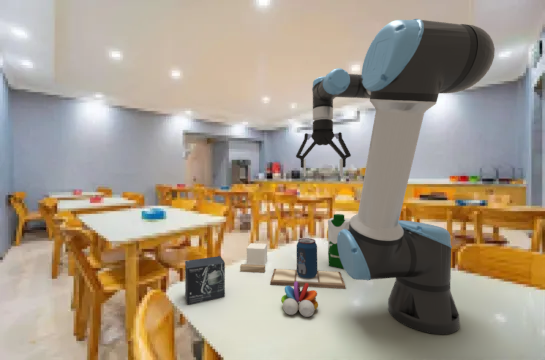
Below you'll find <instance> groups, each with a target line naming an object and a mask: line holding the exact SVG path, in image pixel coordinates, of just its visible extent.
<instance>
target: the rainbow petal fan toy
mask: <svg viewBox="0 0 545 360" xmlns="http://www.w3.org/2000/svg"><path fill="white" fill-rule="evenodd" d="M309 288H310V287H309V284H308V283H305V284H304V286H303V287H302V289H301V286H299V283H298V282H297V281H296V282H294V286H284V293H285V294H284V295H282V296H281V299H280V300H281V301H280V302H281V304H282V309H283V311H284V313H285V314H287V315H288V316H293V315H296V314H297V312H298V311H299V313H300V315H302V316H303V317H304V318H308V317H312V315H313V314H314V313H315V310H317V309H318V308H319V302H318V301H317V296H318V292H317V291H316V290H315V289H314V290H313V289H312V290H309Z"/></svg>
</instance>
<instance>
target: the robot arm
mask: <svg viewBox="0 0 545 360" xmlns="http://www.w3.org/2000/svg"><path fill="white" fill-rule="evenodd" d="M494 59H495V44H494V41H493V38H491V35H490V34H489V33H488V32H487V31H485V30H484V29H483V28H481V27H479V26H476V25H474V24H466V23H464V24H463V23H461V24H458V23H449V22H441V21H434V20H433V21H432V20H426V19H424V20H423V19H420V18H414V19H395V20H392V21H390V22H389V23H387V24H385V25H384V26H383V27H382V28H380V30H379V31H378V32H377V33H376V35H375V36H374V38H373V40H372V41H371V43H370V45H369V47H368V49H367V51H366V54H365V56H364V59H363V63H362V67H361V74H355V73H354V74H353V73H349V72H348V71H347V70H345V69H343V68H340V67H339V68H334V69H331V71H330V72H328V73H326V75H325V76H318V77H316V78H315V79H314V80H313V82H312V88H311V91H312V120H313V121H312V134H311V133H307V132H306V133H305V134H304V138H303V141H302V143H301V145H300V146H299V149H298V150H297V153H296V154H295V158H296V159H299V160H300V168H302V169H303V177H307V176H306V175H307V164H306V163H307V161H306V160H307V159H306V157H307V156H308V154H309V153H310V152H311V151H312V150H313V148H314V147H315V146H328V145H329V146H330V147H331V148H332V149H333V150H334V151H335V153H337V154H338V156H339V157H340V159H339V177H343V175H344V168H346V165H347V163H346V162H347V161H346V160H347V158H350V157H351V156H352V154H351V153H350V151H349V148H348V146H347V145H346V143H345V141H344V139H343V133H342V132H341V131H340V132H337V133H335V132H334V121H333V119H334V104H333V103H334V99H336V98H349V99H350V98H351V99H352V98H353V99H354V98H356V99H369V102H370V104H372V106H373V107H374V109H375V114H374V119H373V126H372V130H371V136H370V143H369V148H368V155H367V159H366V166H365V172H364V177H363V183H362V189H361V193H360V194H361V195H360V200H359V204H358V205H359V206H358V211H357V213H356V214H354V215H353V216H352V217H351V218H349V219H350V224H349V229H348V230H347V229H343V230H341V231H340V232H339V233H338V236H337V246H338V252H339V257H340V260H341V263H342V265H343V268H344V269H343V270H344V271H345V273H346V274H347V275H348V277H350V278H352V279H353V280H355V281H357V280H358V281H359V280H360V281H371V280H382V279H394V278H395V281H394V284H393V286H392V289H391V291H390V294H389V297H388V300H387V301H388V302H387V310H388V312H389V314H390V315H391V316H392V317H393V318H394V319H395V320H396V321H398V322H400V323H401V324H403V325H404V326H407V327H408V328H411V329H413V330H416V331H420V332H423V333H428V334H431V335H449V334H454V333H455V332H458V330H459V329H460V314H459V311H458V308H457V306H456V303H455V300H454V296H453V294H452V291H451V279H452V277H451V274H452V273H451V271H452V270H451V269H452V249H453V246H452V242H451V233H450V232H449V230H447V229H446V228H444V227H441V226H438V225H434V224H429V223H424V222H417V221H412V220H411V221H410V220H403V219H402V220H400V217H401V212H402V210H403V209H402V208H403V205H404V200H405V195H406V192H407V187H408V183H409V179H410V174H411V170H412V165H413V161H414V158H415V155H416V149H417V146H418V141H419V136H420V133H421V128H422V124H423V119H424V116H425V113H426V112H427V111H428V110H429V109H431V108H432V107H434V106H435V105H436V104H437V101H438V99H439V95H440V94H454V93H460V92H463V91H465V90H467V89H470V88H471V87H473V86H474V85H476V84H477V83H479V82H480V81H481V80H482V79H483V78H484V77H485V76H486V74H487V73H488V72H489V70H490V69H491V67H492V65H493V64H494V63H493V62H494ZM310 138H312V140H313V142H311V144H310V146H308V147H307V149H306V150H305V151H304V148H305V146H306V144H307V142H308V141H309V140H310ZM334 138H336V140H337V141H338V143H339V145H340V147H341V149H342V150H343V152H342V150H341V149H340V148H339V147H338V145H336V143H335V142H334V140H333V139H334ZM303 151H304V153H302V152H303Z"/></svg>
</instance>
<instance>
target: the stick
mask: <svg viewBox="0 0 545 360" xmlns="http://www.w3.org/2000/svg"><path fill="white" fill-rule="evenodd" d="M239 271H240V272H242V273H244V272H245V273H260V274H261V273H265V272H266V264H265V265H249V264H247V263H246V264H245V263H244V264H243V263H241V264H240V266H239Z"/></svg>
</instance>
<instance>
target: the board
mask: <svg viewBox="0 0 545 360" xmlns="http://www.w3.org/2000/svg"><path fill="white" fill-rule="evenodd" d="M296 281H297V282H298V283H299V286H300V288H301V287H302V288H303V286H304V284H305V283H308V284H309V287H308V288H319V289H320V288H321V289H322V288H325V289H326V288H327V289H340V290H341V289H342V290H344V289H345V290H346V284H345V281H344V278H343V276H342V274H341V271H337V270H335V271H333V270H317V274H316V276H315V277H314V278H312V279H303V278H301V277H299V275H298V274H297V269H287V268H274V269H273V272H272V274H271V278H270V282H269V283H270V286H284V287H286V286H291V287H294V282H296Z"/></svg>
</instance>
